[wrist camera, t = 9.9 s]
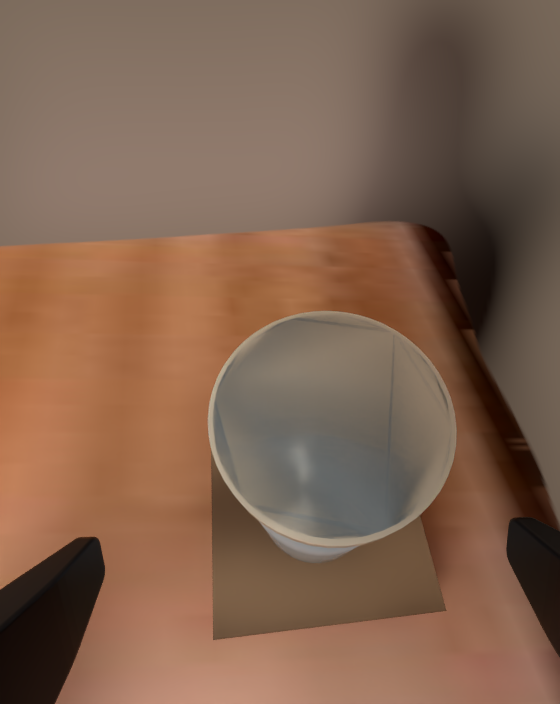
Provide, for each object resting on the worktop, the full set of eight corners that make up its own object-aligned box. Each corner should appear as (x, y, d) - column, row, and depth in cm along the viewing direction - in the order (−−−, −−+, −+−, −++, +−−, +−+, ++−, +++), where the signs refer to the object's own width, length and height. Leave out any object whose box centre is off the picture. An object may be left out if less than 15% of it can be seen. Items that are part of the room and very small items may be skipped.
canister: (379, 560, 17) (495, 532, 7) (261, 570, 17) (203, 556, 7) (358, 444, 20) (419, 302, 10) (256, 453, 20) (210, 319, 10)
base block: (426, 606, 19) (446, 610, 16) (225, 631, 19) (213, 639, 16) (378, 417, 24) (387, 397, 21) (220, 435, 24) (210, 418, 21)
